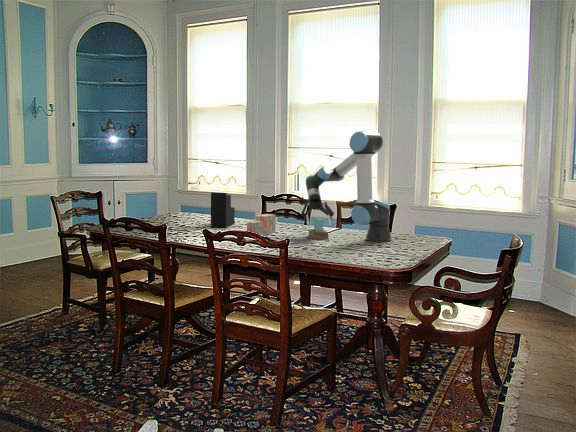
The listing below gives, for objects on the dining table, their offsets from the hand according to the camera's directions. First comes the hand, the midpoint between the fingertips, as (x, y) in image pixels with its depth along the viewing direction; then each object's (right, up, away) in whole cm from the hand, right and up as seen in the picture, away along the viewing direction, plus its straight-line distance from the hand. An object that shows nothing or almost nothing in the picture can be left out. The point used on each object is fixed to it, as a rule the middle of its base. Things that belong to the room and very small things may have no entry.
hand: (319, 224), depth 351 cm
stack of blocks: (-35, -7, +12) cm, 38 cm away
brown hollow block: (0, -8, +3) cm, 9 cm away
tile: (0, -7, +3) cm, 8 cm away
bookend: (-63, -1, +47) cm, 79 cm away
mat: (-10, -10, -10) cm, 17 cm away
